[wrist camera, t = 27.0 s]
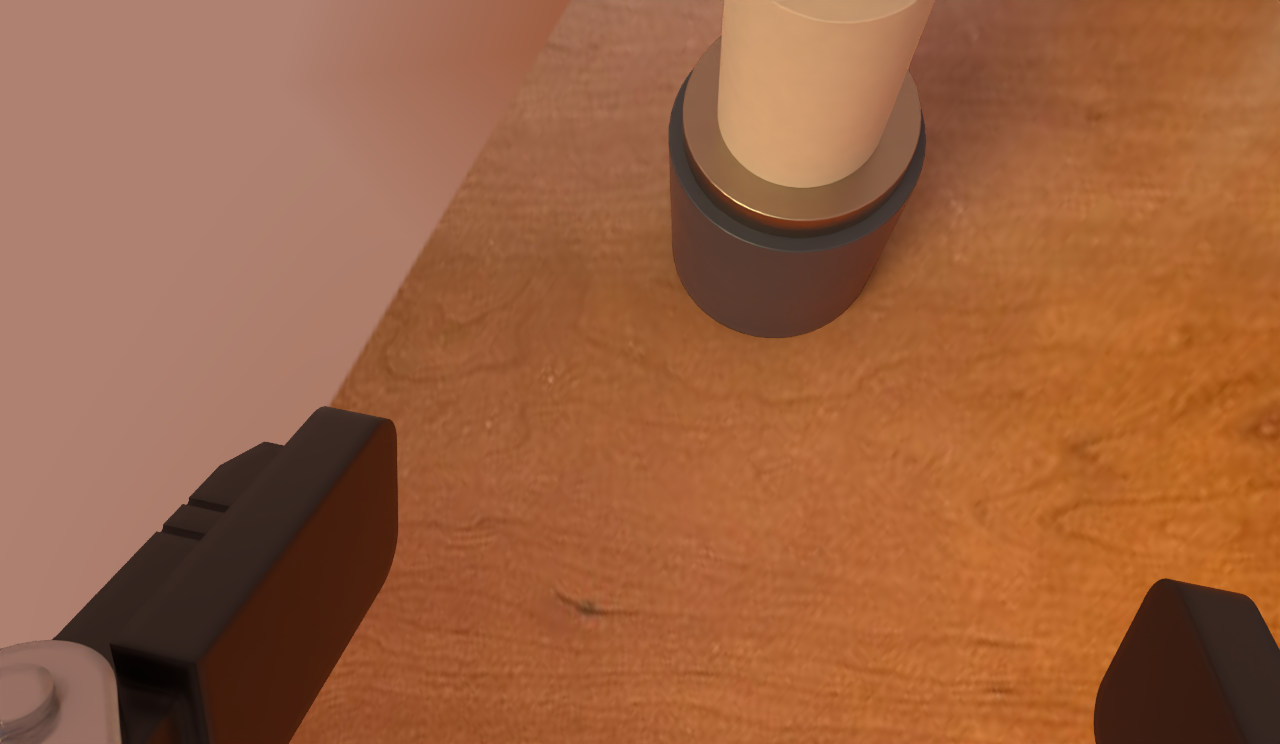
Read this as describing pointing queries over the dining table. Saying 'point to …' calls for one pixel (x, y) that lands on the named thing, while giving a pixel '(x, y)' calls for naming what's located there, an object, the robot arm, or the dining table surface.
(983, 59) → the dining table surface
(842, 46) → the cream bottle
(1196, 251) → the dining table surface
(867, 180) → the slate jar
